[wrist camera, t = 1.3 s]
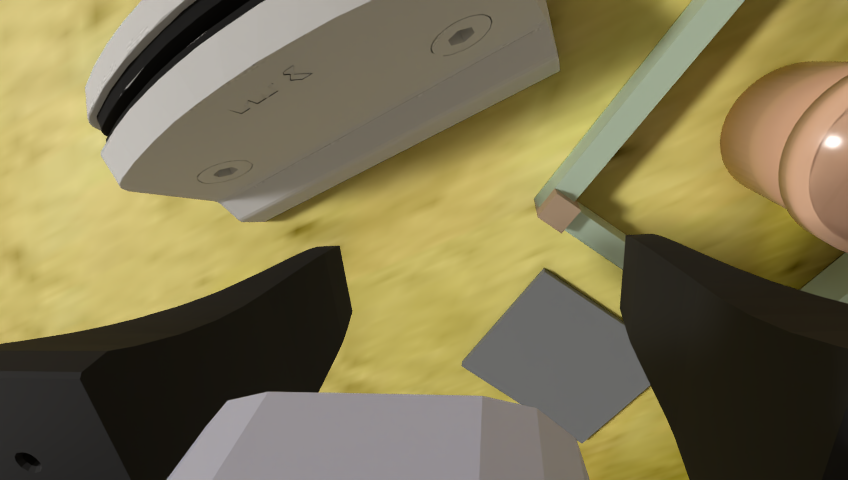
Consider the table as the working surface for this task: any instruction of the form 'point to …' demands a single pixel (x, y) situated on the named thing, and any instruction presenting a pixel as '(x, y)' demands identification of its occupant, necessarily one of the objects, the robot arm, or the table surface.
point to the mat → (560, 357)
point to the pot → (795, 144)
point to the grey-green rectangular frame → (621, 119)
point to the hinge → (299, 89)
